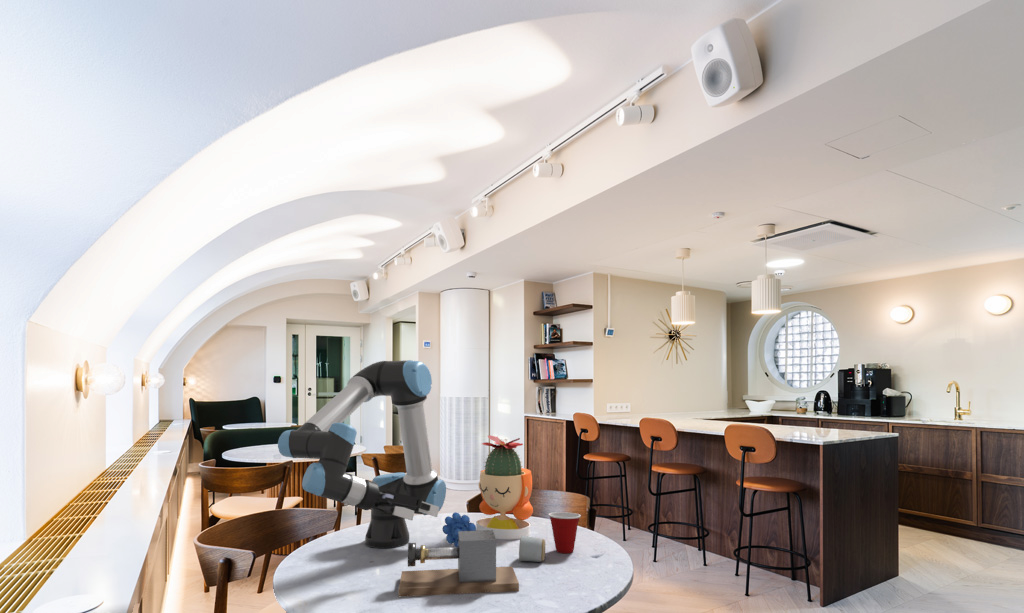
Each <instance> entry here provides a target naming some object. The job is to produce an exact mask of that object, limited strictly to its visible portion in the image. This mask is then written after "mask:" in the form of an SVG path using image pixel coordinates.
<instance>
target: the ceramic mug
mask: <svg viewBox="0 0 1024 613" xmlns="http://www.w3.org/2000/svg"><path fill="white" fill-rule="evenodd" d="M545 555H546V539H544V538H541V537H534V536H521V538H520V539H519V546H518V558H519V559H518V560H519V561H520V562H533V563H540V562H541V563H542V562H544V561H545Z"/></svg>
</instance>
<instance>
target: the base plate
mask: <svg viewBox="0 0 1024 613" xmlns="http://www.w3.org/2000/svg"><path fill="white" fill-rule="evenodd" d="M399 581H400V582H399V586H398V597H399V598H400V597H419V596H420V597H421V596H422V597H423V596H438V595H439V596H440V595H442V596H444V595H445V596H446V595H460V594H461V595H462V594H482V593H483V594H484V593H502V592H503V593H504V592H519V591H520V583H519V580H518V577H517V574H516V572H515V569H514V568H513V566H496V582H477V583H459V576H458V568H448V569H446V568H445V569H442V568H441V569H425V570H424V569H423V570H418V569H417V570H402V571H401V574H400V580H399Z"/></svg>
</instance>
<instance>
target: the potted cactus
mask: <svg viewBox="0 0 1024 613" xmlns="http://www.w3.org/2000/svg"><path fill="white" fill-rule="evenodd" d="M487 438H488V439H489V440H490V441H493V442H494V443H490V442H487V441H486V442H482V443H481V445H483V446H488V447H492V448H491V450H489V451H488V453H487V456H486V458H485V461H484V464H485V465H483V468H484V469H483V470H480V474H479V475H480V476H479V481H478V489H479V491H480V495H481V497H482V501H481V502H480V503H479V506H478V507H479V511H480V512H481V513H482V514H484V515H485V516H492V515H495V516H493V517H484V518H479V519H478V520H476V523H475V526H476V531H483V530H493V532H494V535H495V538H496V540H520V538H521V536H528V537H531V523H530V522H528V521H527V520H528V519H530V518H531V517H532V515H533V513H534V508H533V505H532V504H531V502H530V498H531V495H532V491H533V475H532V471H531V469H528V468H524V465H522V463H523V460H522V461H521V457H519V456H520V454H518V450H516V449H517V447H520V446H523V445H524V443H520V442H517V441H519V440H520V439H521V438H519V437H518V438H515V439H513V440H511V441H508V439H506V438H505V439H504V440H502V439H500V438H499V437H498V436H495V435H487ZM497 513H499V514H500V515H499V514H498V515H496V514H497ZM509 514H513V517H511V516H510V517H509V516H507V515H509Z"/></svg>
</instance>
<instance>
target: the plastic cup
mask: <svg viewBox="0 0 1024 613" xmlns="http://www.w3.org/2000/svg"><path fill="white" fill-rule="evenodd" d="M581 516H582V515H581V514H579V513H576V512H575V513H574V512H567V511H566V512H564V511H561V512H560V511H557V512H555V511H553V512H549V513H548V517H549V519H550V524H551V529H552V536H553V541H554V546H555V551H556V552H557V553H560V554H572V553H574V549H575V544H576V538H577V531H578V525H579V521H580V518H581Z"/></svg>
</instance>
